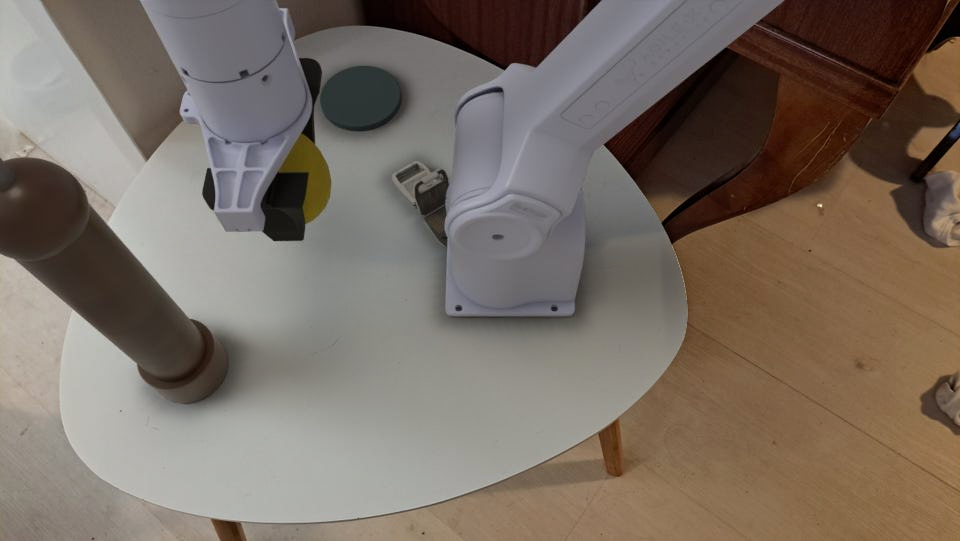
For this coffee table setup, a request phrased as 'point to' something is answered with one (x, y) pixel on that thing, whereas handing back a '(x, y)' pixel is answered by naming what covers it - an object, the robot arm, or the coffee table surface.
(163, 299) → the pepper mill
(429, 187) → the strap clip
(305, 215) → the lemon
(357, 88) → the coaster
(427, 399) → the coffee table surface
